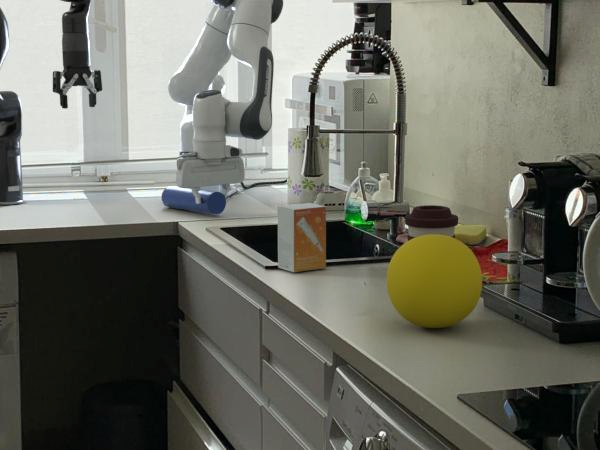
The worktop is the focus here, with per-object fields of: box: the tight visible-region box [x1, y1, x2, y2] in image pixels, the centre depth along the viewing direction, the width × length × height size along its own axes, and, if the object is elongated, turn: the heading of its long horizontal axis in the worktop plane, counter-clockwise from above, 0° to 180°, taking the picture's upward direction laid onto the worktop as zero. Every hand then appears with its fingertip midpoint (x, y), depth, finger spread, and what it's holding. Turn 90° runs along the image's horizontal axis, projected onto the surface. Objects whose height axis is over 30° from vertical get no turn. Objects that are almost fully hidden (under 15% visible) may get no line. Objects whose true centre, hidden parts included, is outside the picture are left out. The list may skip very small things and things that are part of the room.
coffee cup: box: [404, 204, 459, 241], centre depth 197 cm, size 10×10×15 cm
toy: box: [386, 234, 483, 329], centre depth 168 cm, size 15×15×15 cm
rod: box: [161, 185, 227, 215], centre depth 291 cm, size 24×6×6 cm, turn 38°
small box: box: [277, 202, 327, 273], centre depth 214 cm, size 8×6×13 cm
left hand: (78, 107), depth 295 cm, fingers open, 8 cm apart
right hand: (211, 202), depth 284 cm, fingers closed on rod, 6 cm apart
